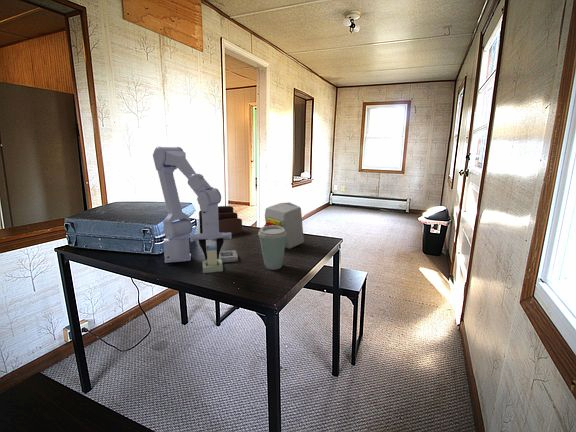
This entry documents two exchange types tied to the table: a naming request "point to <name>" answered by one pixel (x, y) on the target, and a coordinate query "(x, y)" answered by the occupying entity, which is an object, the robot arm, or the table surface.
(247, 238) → the table surface
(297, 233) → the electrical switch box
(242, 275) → the table surface
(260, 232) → the disposable coffee cup
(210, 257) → the plug
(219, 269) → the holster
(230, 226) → the letter holder
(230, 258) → the panel
